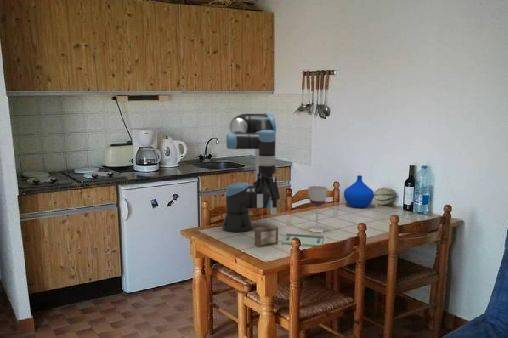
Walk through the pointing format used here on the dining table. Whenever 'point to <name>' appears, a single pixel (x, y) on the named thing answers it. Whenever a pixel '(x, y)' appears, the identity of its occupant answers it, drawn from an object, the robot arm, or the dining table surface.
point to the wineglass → (317, 201)
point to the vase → (358, 194)
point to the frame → (266, 236)
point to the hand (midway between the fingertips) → (266, 210)
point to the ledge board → (304, 239)
